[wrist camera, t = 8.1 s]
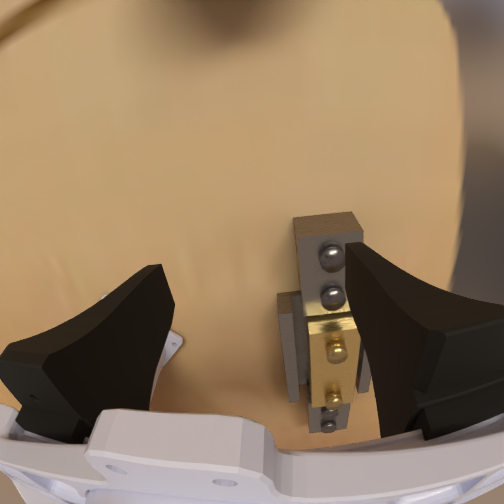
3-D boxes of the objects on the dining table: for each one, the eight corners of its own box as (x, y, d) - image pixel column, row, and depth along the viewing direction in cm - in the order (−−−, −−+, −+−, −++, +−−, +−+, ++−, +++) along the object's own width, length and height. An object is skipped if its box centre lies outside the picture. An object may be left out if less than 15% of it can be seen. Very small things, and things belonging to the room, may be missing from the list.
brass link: (345, 368, 27) (354, 411, 23) (308, 373, 28) (312, 417, 23) (349, 292, 23) (364, 338, 19) (304, 297, 24) (310, 345, 19)
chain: (357, 404, 31) (363, 430, 28) (291, 412, 32) (292, 439, 29) (375, 209, 20) (393, 231, 17) (267, 220, 21) (267, 246, 18)
